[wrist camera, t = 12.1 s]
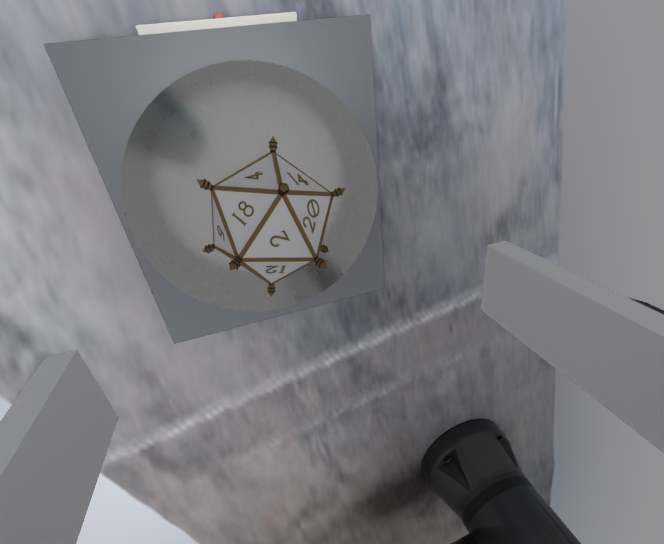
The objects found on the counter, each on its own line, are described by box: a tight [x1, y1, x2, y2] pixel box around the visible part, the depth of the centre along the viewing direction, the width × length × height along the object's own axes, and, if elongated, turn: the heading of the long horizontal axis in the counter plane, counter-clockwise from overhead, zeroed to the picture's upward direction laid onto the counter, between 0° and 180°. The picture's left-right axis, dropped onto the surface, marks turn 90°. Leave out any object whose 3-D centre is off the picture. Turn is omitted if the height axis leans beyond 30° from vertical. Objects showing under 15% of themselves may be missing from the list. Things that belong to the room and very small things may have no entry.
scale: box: [44, 12, 385, 344], centre depth 28 cm, size 23×20×4 cm
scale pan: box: [121, 60, 378, 312], centre depth 25 cm, size 18×18×2 cm
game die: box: [196, 136, 346, 297], centre depth 21 cm, size 9×8×10 cm
